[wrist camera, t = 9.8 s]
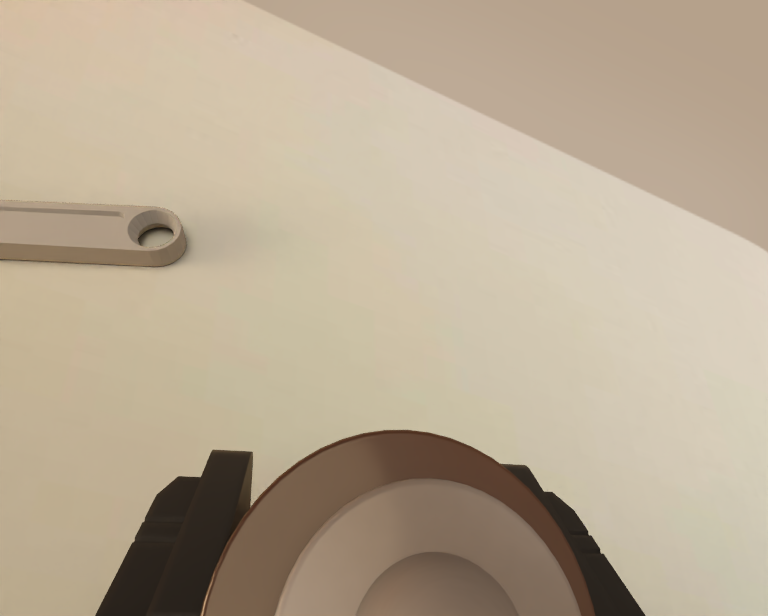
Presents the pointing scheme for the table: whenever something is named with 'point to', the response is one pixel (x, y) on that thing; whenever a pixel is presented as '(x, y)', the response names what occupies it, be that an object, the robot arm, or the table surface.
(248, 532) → the pepper mill
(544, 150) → the table surface
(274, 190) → the table surface
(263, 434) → the table surface
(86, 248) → the adjustable wrench
